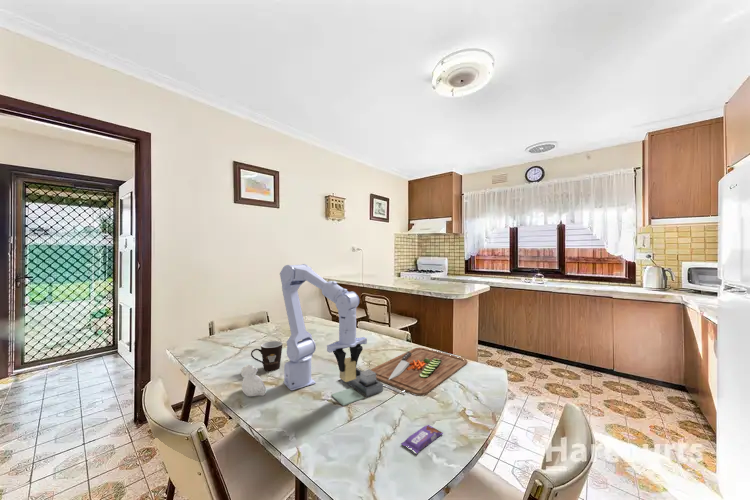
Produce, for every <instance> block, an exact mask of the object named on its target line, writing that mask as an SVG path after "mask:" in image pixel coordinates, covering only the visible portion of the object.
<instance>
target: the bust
mask: <svg viewBox="0 0 750 500" xmlns="http://www.w3.org/2000/svg"><path fill="white" fill-rule="evenodd" d="M258 371H259V370H258V368H257V367H255V366H254V365H252V364H246V365H245V366H244V367H242V368H241V371H240V374H241V377H243V378H242V385H241V390H242V392H243V393H244V394H245V396H247V397H251V398H252V397H257V396H261V397H263V396H265V395H266V391H267V389H266V385H265V383H264V381H263V380H262V379H261V377H260V376H259V375H257V372H258Z"/></svg>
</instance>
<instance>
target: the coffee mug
mask: <svg viewBox="0 0 750 500" xmlns="http://www.w3.org/2000/svg"><path fill="white" fill-rule="evenodd" d="M255 351H258V352H260V354H261V359H262V360H261V359H258V358H257V357H255V356H253V355H254V354H253V353H254V352H255ZM282 352H283V341H280V340H271V341H266V342H263V343H261V344H260V348H254V349H253V350H251V353H250V356H251V358H252V359H253V360H255V361H257V362H258V363H259V362H260V363H261V364H262V367H263V371H265V372H274V371H277V370H279V369H280V368H281V361H282Z"/></svg>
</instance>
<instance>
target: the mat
mask: <svg viewBox="0 0 750 500" xmlns="http://www.w3.org/2000/svg"><path fill="white" fill-rule="evenodd" d="M330 396H331V397H333V398H334V400H335V401H337V402H338V403H339V404H340V405H341V406H343V407H346V406H348V405H350V404H353V403H355V402H358V401H360V400H363V399H365V396H364V395H363V394H361V393H360V392H359V391H357V390H356V389H355V388H353V387H349V388H346V389H343V390H341V391H338V392H335V393H331V395H330Z"/></svg>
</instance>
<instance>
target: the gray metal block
mask: <svg viewBox="0 0 750 500" xmlns="http://www.w3.org/2000/svg"><path fill="white" fill-rule="evenodd" d="M370 369H371V368H370ZM370 369H366V370H362V371H363V372H360V383H361V384H362V385H364V386H365V387H369V386H372V385H374V384H376V373H375V372H373V371H371V370H370Z"/></svg>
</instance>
